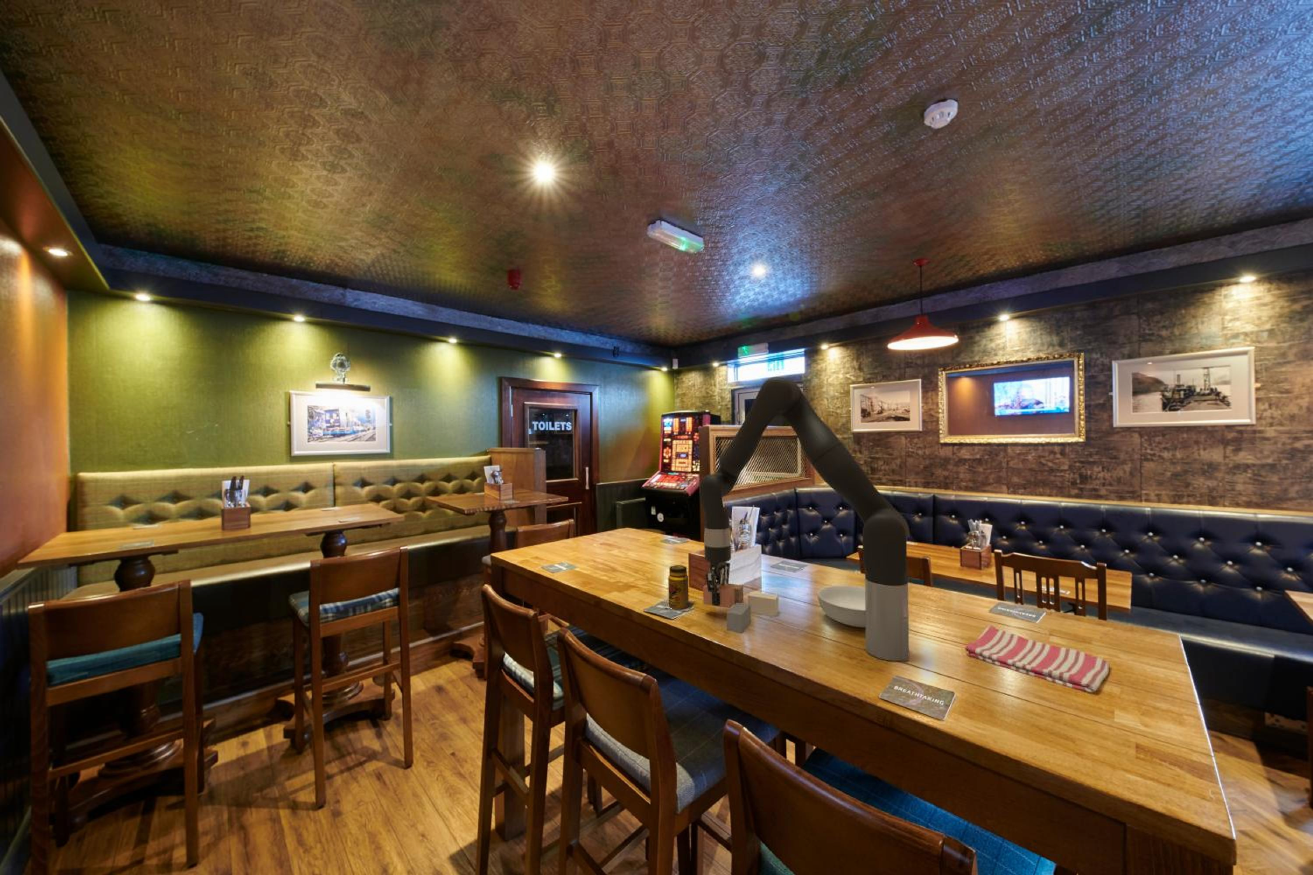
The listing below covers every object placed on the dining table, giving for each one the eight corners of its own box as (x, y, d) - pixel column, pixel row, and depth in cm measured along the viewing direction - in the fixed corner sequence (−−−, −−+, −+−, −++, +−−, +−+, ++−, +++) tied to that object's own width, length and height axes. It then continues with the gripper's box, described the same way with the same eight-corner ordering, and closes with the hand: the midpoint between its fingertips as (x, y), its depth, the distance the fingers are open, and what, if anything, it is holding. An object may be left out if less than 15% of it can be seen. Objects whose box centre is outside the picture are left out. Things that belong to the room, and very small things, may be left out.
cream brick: (778, 612, 139) (778, 595, 139) (775, 617, 136) (775, 599, 136) (751, 607, 143) (751, 591, 143) (747, 612, 140) (747, 595, 140)
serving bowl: (915, 637, 122) (915, 610, 121) (832, 637, 122) (832, 610, 122) (879, 607, 142) (878, 584, 142) (808, 607, 143) (808, 584, 143)
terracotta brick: (734, 603, 137) (734, 586, 137) (730, 608, 134) (729, 590, 134) (708, 599, 141) (708, 582, 141) (703, 604, 138) (702, 586, 138)
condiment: (664, 609, 143) (663, 569, 143) (672, 599, 151) (672, 561, 151) (687, 611, 140) (687, 571, 140) (695, 602, 148) (694, 563, 148)
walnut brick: (743, 601, 149) (743, 585, 149) (739, 605, 145) (738, 589, 145) (718, 597, 152) (718, 581, 152) (714, 601, 149) (714, 585, 149)
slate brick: (736, 620, 134) (736, 602, 134) (750, 622, 132) (750, 604, 132) (727, 630, 127) (726, 612, 127) (741, 633, 125) (741, 614, 125)
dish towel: (986, 636, 123) (986, 622, 123) (1111, 670, 105) (1111, 654, 105) (963, 657, 112) (963, 642, 111) (1098, 699, 94) (1098, 681, 94)
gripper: (721, 549, 129) (722, 613, 129) (737, 539, 142) (739, 596, 142) (695, 547, 133) (697, 609, 133) (714, 537, 145) (715, 593, 145)
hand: (719, 602), depth 137 cm, fingers closed on terracotta brick, 4 cm apart
